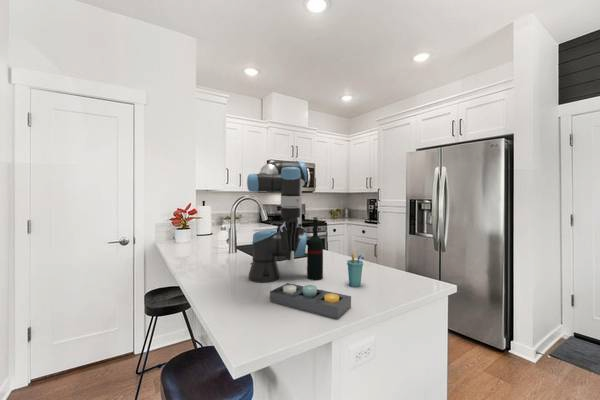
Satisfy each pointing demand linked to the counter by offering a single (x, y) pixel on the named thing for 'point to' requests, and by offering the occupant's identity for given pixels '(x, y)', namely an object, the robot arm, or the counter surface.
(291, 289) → the button ivory
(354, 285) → the cup
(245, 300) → the counter surface
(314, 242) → the wine bottle
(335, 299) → the button amber
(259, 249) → the robot arm
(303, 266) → the counter surface
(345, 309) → the console
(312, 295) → the button teal
